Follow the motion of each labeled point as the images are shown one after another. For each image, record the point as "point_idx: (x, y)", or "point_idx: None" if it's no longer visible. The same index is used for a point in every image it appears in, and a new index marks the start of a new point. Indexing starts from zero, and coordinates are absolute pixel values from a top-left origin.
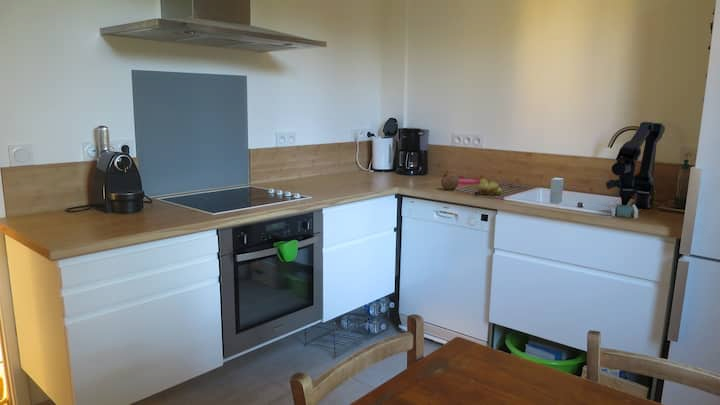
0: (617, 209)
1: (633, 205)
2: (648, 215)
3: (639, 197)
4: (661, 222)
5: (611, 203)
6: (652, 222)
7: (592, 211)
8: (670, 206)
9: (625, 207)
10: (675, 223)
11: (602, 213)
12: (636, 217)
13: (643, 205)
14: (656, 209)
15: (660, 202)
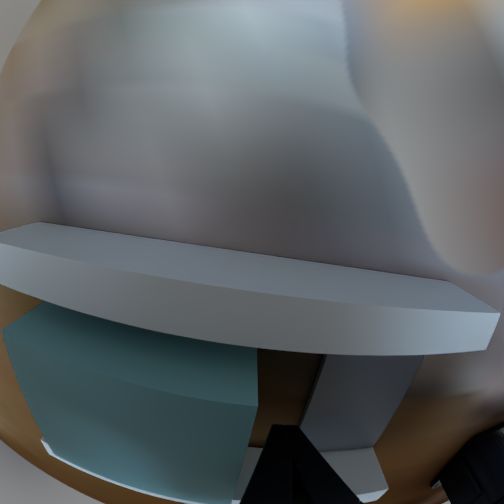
0: (25, 314)
1: None
2: None
3: (487, 491)
4: (62, 465)
5: (478, 317)
6: (30, 431)
7: (246, 13)
8: (447, 500)
9: (41, 418)
10: (86, 494)
11: (141, 117)
12: None
13: (448, 479)
14: (410, 499)
15: None
